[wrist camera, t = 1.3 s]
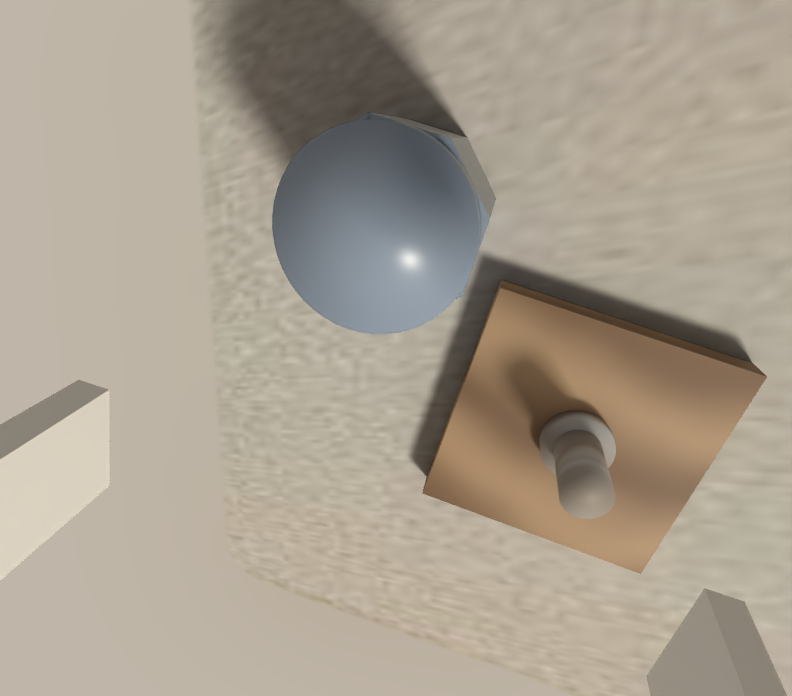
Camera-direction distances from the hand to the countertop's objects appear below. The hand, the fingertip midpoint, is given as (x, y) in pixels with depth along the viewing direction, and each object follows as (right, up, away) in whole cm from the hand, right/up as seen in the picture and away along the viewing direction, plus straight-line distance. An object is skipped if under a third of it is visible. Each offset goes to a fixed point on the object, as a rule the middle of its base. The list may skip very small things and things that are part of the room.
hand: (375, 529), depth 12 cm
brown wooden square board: (+9, 0, +16) cm, 18 cm away
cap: (+1, +11, +13) cm, 17 cm away
